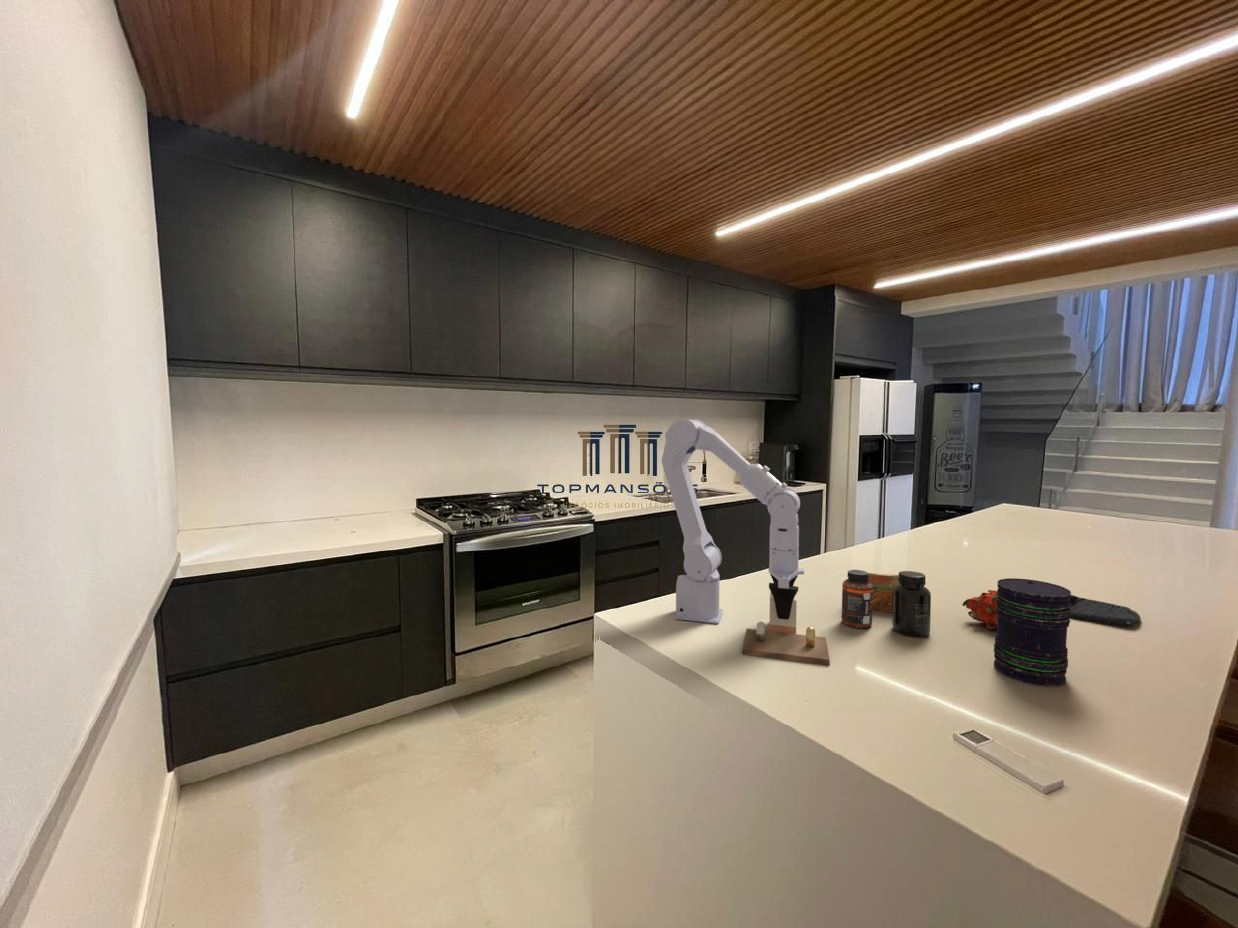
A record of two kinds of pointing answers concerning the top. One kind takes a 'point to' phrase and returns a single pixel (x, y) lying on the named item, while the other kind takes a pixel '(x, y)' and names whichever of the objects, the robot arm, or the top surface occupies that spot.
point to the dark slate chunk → (1101, 612)
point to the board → (786, 647)
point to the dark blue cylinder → (1032, 631)
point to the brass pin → (810, 637)
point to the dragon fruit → (984, 608)
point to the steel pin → (760, 632)
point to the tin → (883, 591)
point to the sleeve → (782, 624)
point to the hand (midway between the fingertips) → (783, 612)
